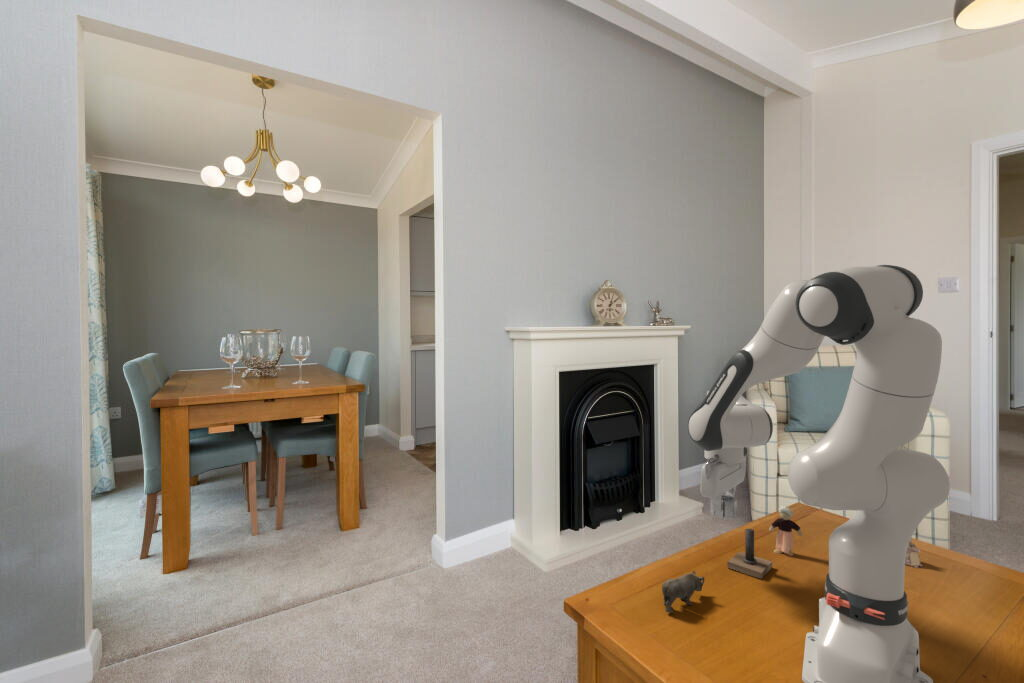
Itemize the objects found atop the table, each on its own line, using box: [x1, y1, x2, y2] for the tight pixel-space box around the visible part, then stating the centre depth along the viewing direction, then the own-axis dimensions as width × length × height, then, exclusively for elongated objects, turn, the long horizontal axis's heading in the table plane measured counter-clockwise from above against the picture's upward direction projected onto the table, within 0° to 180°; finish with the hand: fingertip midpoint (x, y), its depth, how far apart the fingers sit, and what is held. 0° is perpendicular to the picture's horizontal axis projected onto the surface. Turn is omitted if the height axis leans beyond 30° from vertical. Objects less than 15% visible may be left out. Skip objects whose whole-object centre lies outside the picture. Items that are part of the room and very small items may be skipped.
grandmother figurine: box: [768, 505, 803, 557], centre depth 129 cm, size 8×4×13 cm, turn 73°
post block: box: [726, 528, 773, 580], centre depth 122 cm, size 8×8×10 cm
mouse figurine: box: [905, 536, 923, 569], centre depth 125 cm, size 5×8×7 cm, turn 22°
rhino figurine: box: [661, 570, 705, 614], centre depth 107 cm, size 4×14×6 cm, turn 121°
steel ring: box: [709, 493, 738, 519], centre depth 120 cm, size 6×6×4 cm
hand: (723, 507), depth 120 cm, fingers closed on steel ring, 6 cm apart
